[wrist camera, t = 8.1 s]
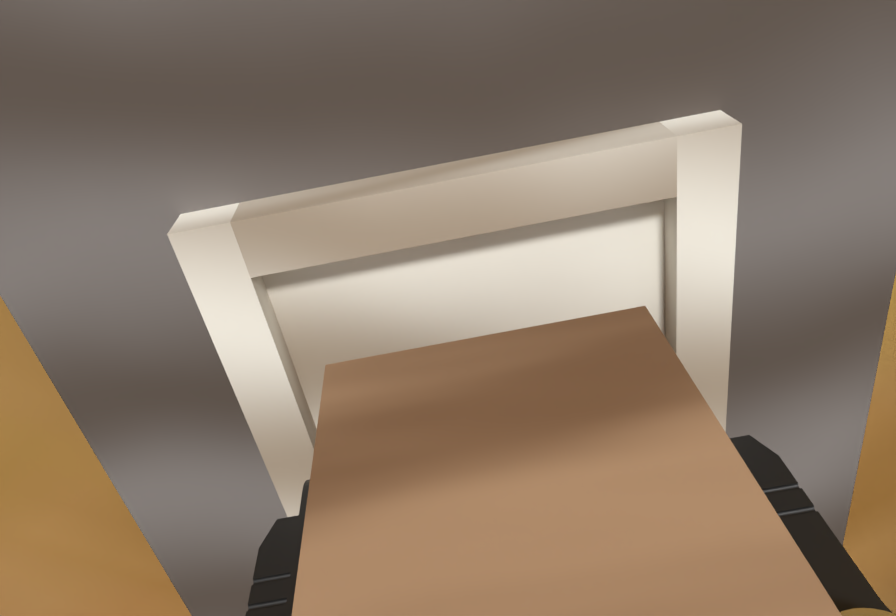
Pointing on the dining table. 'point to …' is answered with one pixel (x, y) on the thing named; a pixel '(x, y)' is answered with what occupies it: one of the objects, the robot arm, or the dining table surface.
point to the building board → (433, 220)
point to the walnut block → (538, 486)
